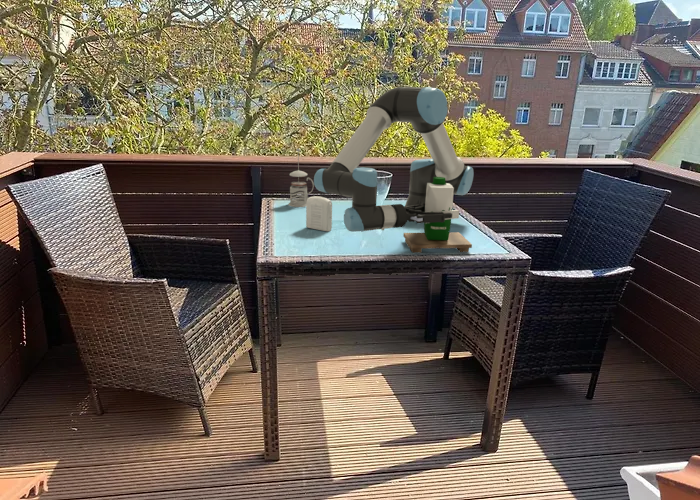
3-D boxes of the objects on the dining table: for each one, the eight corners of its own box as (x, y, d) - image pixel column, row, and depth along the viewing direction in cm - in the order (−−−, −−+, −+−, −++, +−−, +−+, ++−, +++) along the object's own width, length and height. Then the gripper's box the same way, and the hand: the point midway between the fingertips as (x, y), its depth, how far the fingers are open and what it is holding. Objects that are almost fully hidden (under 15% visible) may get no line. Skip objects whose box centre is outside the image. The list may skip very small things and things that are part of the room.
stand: (458, 240, 176) (458, 232, 175) (471, 253, 163) (471, 244, 162) (403, 240, 174) (403, 232, 173) (411, 253, 161) (412, 245, 160)
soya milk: (446, 233, 172) (451, 176, 166) (451, 241, 164) (456, 181, 158) (421, 233, 172) (425, 176, 166) (425, 240, 164) (429, 181, 157)
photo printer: (333, 229, 186) (334, 197, 182) (327, 232, 182) (328, 199, 178) (310, 225, 191) (310, 194, 187) (304, 228, 187) (304, 196, 183)
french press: (289, 201, 228) (288, 146, 220) (314, 202, 228) (314, 147, 220) (286, 206, 219) (285, 149, 211) (312, 207, 219) (312, 150, 211)
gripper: (376, 219, 168) (432, 214, 177) (406, 236, 150) (468, 229, 159) (377, 198, 166) (434, 193, 174) (408, 212, 147) (470, 206, 156)
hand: (450, 210), depth 167 cm, fingers closed on soya milk, 8 cm apart
